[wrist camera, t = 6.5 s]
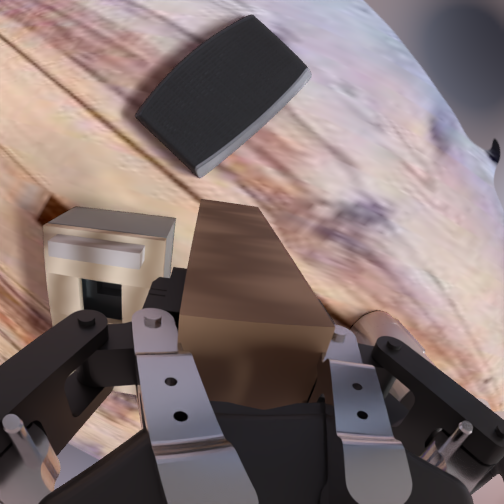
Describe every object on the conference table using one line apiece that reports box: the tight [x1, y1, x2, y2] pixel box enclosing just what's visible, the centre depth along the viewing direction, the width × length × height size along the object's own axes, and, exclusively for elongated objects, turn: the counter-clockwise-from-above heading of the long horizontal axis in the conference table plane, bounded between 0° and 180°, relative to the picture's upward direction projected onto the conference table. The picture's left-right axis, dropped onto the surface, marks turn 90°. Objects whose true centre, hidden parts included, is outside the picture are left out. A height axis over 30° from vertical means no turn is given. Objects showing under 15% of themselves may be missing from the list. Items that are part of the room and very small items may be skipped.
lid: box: [43, 223, 167, 395], centre depth 31 cm, size 14×22×3 cm, turn 170°
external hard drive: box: [135, 15, 311, 178], centre depth 32 cm, size 13×19×4 cm
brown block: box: [177, 199, 336, 410], centre depth 15 cm, size 4×4×15 cm
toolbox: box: [48, 207, 176, 320], centre depth 37 cm, size 14×22×8 cm, turn 170°
